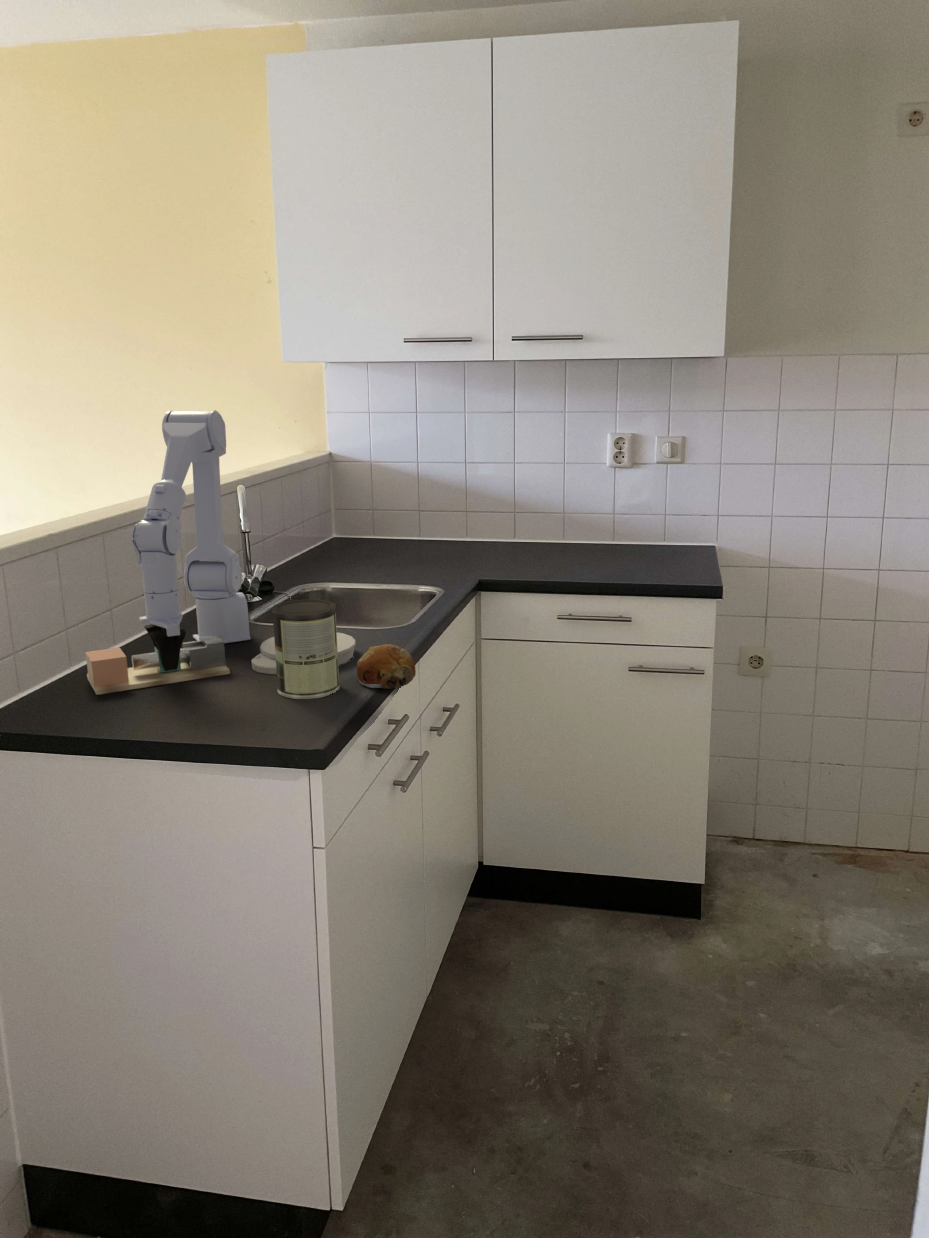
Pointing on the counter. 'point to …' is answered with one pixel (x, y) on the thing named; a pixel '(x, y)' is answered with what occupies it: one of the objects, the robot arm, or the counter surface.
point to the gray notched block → (206, 653)
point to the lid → (268, 658)
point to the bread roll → (386, 666)
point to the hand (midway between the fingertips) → (168, 666)
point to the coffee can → (306, 648)
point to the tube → (158, 659)
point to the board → (158, 678)
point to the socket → (107, 667)
